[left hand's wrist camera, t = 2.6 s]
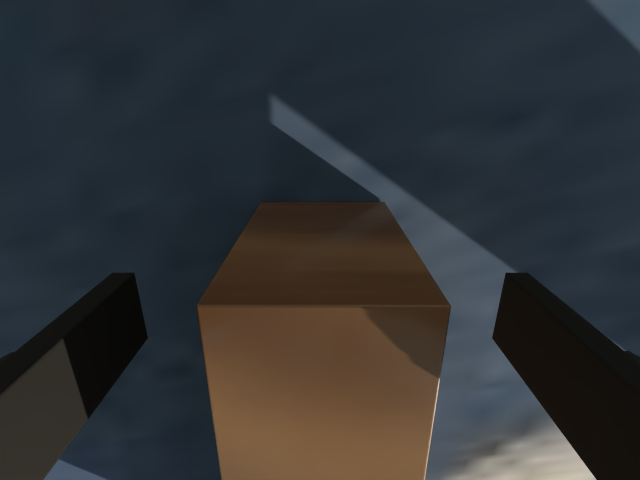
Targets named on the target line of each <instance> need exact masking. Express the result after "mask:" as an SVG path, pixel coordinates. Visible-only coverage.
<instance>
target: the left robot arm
mask: <svg viewBox="0 0 640 480" xmlns="http://www.w3.org/2000/svg"><path fill="white" fill-rule="evenodd" d="M147 338H148V337H147V332H146V327H145V322H144V318H143V313H142V308H141V303H140V298H139V294H138V289H137V284H136V279H135V274H134V273H112V274H111V275H109V276H108V277H107V278H106V279H104V280H103V281H102V282H101V283H99V284H98V285H97V286H96V287H95V288H93V289H92V290H91V291H90V292H88V293H87V294H86V295H85V296H83V297H82V298H81V299H80V300H78V301H77V302H76V303H75V304H74V305H72V306H71V307H70V308H69V309H67V310H66V311H65V312H64V313H62V314H61V315H60V316H59V317H58V318H56V319H55V320H54V321H53V322H51V323H50V324H49V325H48V326H46V327H45V328H44V329H43V330H42V331H40V332H39V333H38V334H37V335H35V336H34V337H33V338H32V339H30V340H29V341H28V342H27V343H26V344H24V345H23V346H22V347H21V348H19V349H18V350H17V351H16V352H12V353H10V354H8V355H6V356H4V357H2V358H0V480H43V479H44V478H45V477H46V475H47V474H48V473H49V471H50V470H51V469H52V467H53V466H54V465H55V463H56V462H57V460H58V459H59V458H60V456H61V455H62V454H63V452H64V451H65V450H66V448H67V447H68V446H69V444H70V443H71V441H72V440H73V439H74V437H75V436H76V435H77V433H78V432H79V431H80V429H81V428H82V427H83V425H84V424H85V422H86V421H87V420H88V418H89V417H90V416H91V414H92V413H93V412H94V410H95V409H96V408H97V406H98V405H99V404H100V402H101V401H102V399H103V398H104V397H105V395H106V394H107V393H108V391H109V390H110V389H111V387H112V386H113V385H114V383H115V382H116V380H117V379H118V378H119V376H120V375H121V374H122V372H123V371H124V370H125V368H126V367H127V366H128V364H129V363H130V361H131V360H132V359H133V357H134V356H135V355H136V353H137V352H138V351H139V349H140V348H141V347H142V345H143V344H144V342H145V341H146V340H147ZM492 338H493V340H494V341H495V342H496V344H497V345H498V347H499V348H500V349H501V351H502V352H503V353H504V355H505V356H506V357H507V359H508V360H509V361H510V363H511V364H512V366H513V367H514V368H515V370H516V371H517V372H518V374H519V375H520V376H521V378H522V379H523V380H524V382H525V383H526V385H527V386H528V387H529V389H530V390H531V391H532V393H533V394H534V395H535V397H536V398H537V399H538V401H539V402H540V404H541V405H542V406H543V408H544V409H545V410H546V412H547V413H548V414H549V416H550V417H551V418H552V420H553V421H554V422H555V424H556V425H557V427H558V428H559V429H560V431H561V432H562V433H563V435H564V436H565V437H566V439H567V440H568V441H569V443H570V444H571V446H572V447H573V448H574V450H575V451H576V452H577V454H578V455H579V456H580V458H581V459H582V460H583V462H584V463H585V465H586V466H587V467H588V469H589V470H590V471H591V473H592V474H593V475H594V477H595V478H596V479H597V480H640V357H639V356H637V355H635V354H633V353H631V352H629V351H623V350H622V349H621V348H619V347H618V346H617V345H616V344H614V343H613V342H612V341H611V340H610V339H608V338H607V337H606V336H605V335H603V334H602V333H601V332H600V331H598V330H597V329H596V328H595V327H594V326H592V325H591V324H590V323H589V322H587V321H586V320H585V319H584V318H582V317H581V316H580V315H579V314H578V313H576V312H575V311H574V310H573V309H571V308H570V307H569V306H568V305H566V304H565V303H564V302H563V301H561V300H560V299H559V298H558V297H557V296H555V295H554V294H553V293H552V292H550V291H549V290H548V289H547V288H545V287H544V286H543V285H542V284H541V283H539V282H538V281H537V280H536V279H534V278H533V277H532V276H531V275H529V274H528V273H506V274H505V279H504V284H503V289H502V294H501V298H500V303H499V308H498V313H497V318H496V322H495V327H494V332H493V337H492Z"/></svg>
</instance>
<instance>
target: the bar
mask: <svg viewBox="0 0 640 480" xmlns="http://www.w3.org/2000/svg"><path fill="white" fill-rule="evenodd" d="M196 307H197V314H198V321H199V328H200V335H201V342H202V349H203V356H204V363H205V369H206V376H207V383H208V390H209V397H210V404H211V411H212V418H213V425H214V432H215V439H216V446H217V453H218V460H219V467H220V474H221V480H425V473H426V467H427V460H428V454H429V447H430V441H431V434H432V427H433V421H434V414H435V408H436V401H437V395H438V388H439V381H440V375H441V368H442V362H443V355H444V349H445V342H446V335H447V329H448V322H449V316H450V309H451V306H450V304H449V302H448V301H447V299H446V298H445V296H444V295H443V293H442V291H441V290H440V288H439V287H438V285H437V284H436V282H435V280H434V279H433V277H432V276H431V274H430V273H429V271H428V270H427V268H426V266H425V265H424V263H423V262H422V260H421V259H420V257H419V255H418V254H417V252H416V251H415V249H414V248H413V246H412V245H411V243H410V241H409V240H408V238H407V237H406V235H405V234H404V232H403V230H402V229H401V227H400V226H399V224H398V223H397V221H396V220H395V218H394V216H393V215H392V213H391V212H390V210H389V209H388V207H387V205H386V204H385V202H260V204H259V206H258V207H257V209H256V211H255V212H254V214H253V215H252V217H251V219H250V220H249V222H248V223H247V225H246V227H245V228H244V230H243V231H242V233H241V235H240V236H239V238H238V239H237V241H236V243H235V244H234V246H233V247H232V249H231V251H230V252H229V254H228V255H227V257H226V259H225V260H224V262H223V264H222V265H221V267H220V268H219V270H218V272H217V273H216V275H215V276H214V278H213V280H212V281H211V283H210V284H209V286H208V288H207V289H206V291H205V292H204V294H203V296H202V297H201V299H200V300H199V302H198V304H197V306H196Z"/></svg>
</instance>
